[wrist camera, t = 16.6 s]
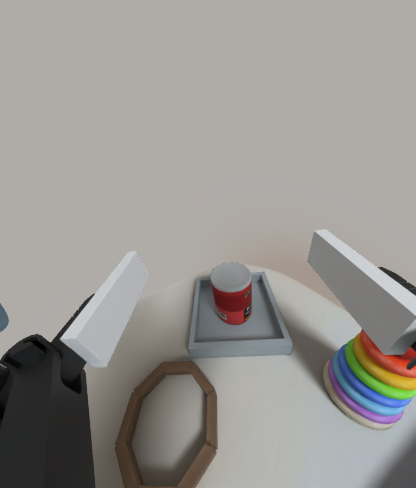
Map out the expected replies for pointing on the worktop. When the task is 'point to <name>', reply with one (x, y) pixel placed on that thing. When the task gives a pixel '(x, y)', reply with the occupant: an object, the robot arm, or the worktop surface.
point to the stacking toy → (370, 382)
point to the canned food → (232, 292)
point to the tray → (238, 336)
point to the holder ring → (126, 432)
